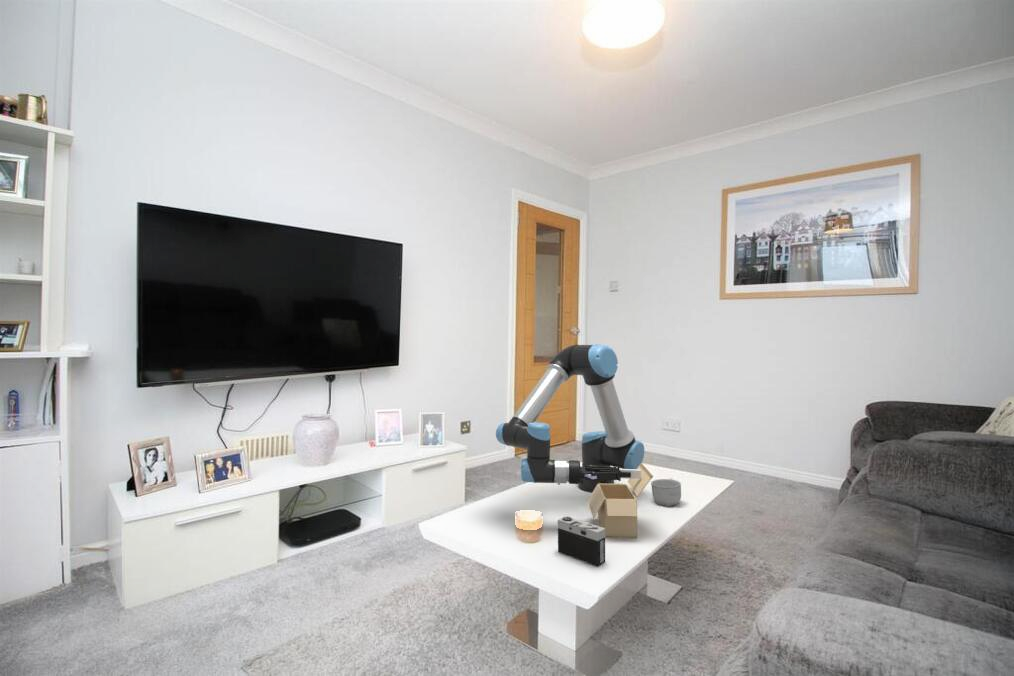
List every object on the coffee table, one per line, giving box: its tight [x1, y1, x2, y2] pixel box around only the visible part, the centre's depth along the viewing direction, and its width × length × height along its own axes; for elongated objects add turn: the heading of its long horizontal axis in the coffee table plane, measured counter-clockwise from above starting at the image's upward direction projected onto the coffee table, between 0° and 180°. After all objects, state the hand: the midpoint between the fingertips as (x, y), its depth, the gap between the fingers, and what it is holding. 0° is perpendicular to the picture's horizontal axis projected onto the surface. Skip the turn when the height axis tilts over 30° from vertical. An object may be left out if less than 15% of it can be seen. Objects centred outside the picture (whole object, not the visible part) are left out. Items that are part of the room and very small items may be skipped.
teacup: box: [650, 477, 682, 506], centre depth 185 cm, size 14×11×8 cm
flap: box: [627, 462, 654, 497], centre depth 160 cm, size 1×16×8 cm
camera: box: [557, 515, 606, 568], centre depth 140 cm, size 14×8×10 cm, turn 46°
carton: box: [587, 483, 639, 539], centre depth 160 cm, size 14×21×12 cm, turn 177°
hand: (640, 474), depth 158 cm, fingers closed
